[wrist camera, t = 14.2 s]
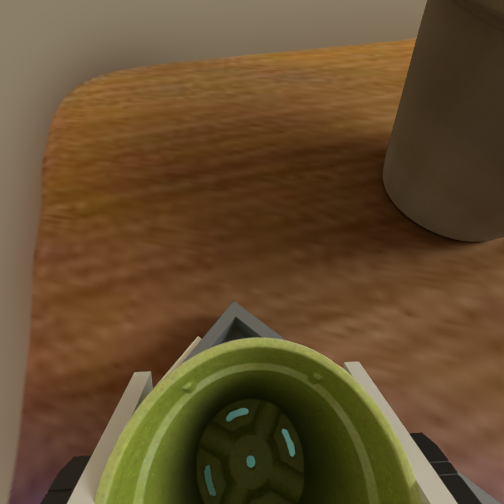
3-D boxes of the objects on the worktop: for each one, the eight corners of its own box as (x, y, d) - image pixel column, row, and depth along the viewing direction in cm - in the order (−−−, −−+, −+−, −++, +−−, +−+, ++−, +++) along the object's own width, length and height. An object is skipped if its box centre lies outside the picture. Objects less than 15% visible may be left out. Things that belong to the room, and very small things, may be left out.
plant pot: (147, 405, 16) (67, 404, 8) (287, 344, 18) (322, 301, 11) (191, 631, 12) (108, 1030, 4) (366, 517, 14) (518, 648, 6)
